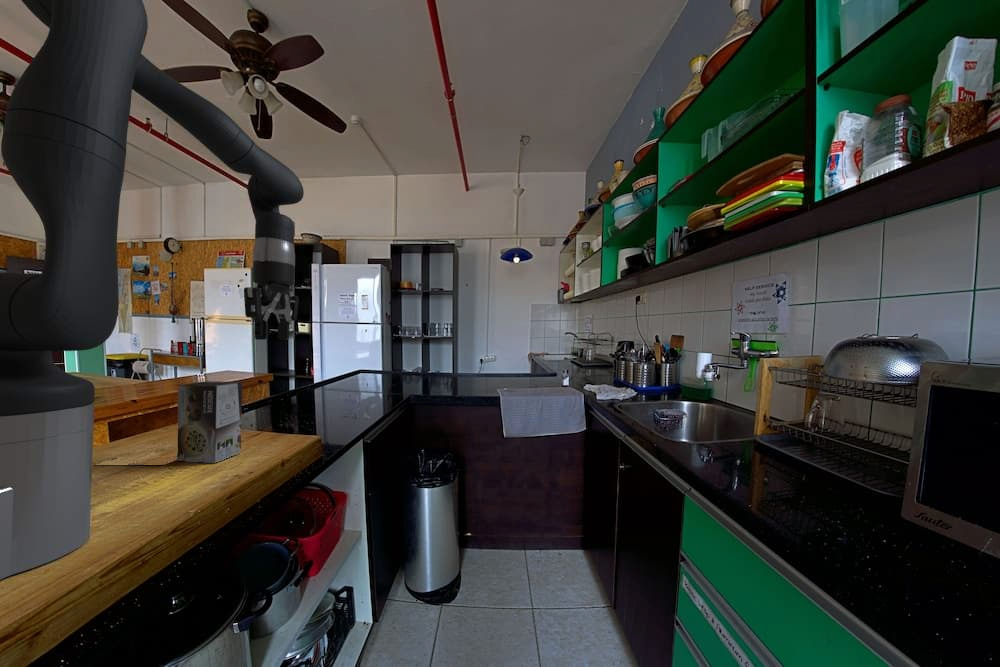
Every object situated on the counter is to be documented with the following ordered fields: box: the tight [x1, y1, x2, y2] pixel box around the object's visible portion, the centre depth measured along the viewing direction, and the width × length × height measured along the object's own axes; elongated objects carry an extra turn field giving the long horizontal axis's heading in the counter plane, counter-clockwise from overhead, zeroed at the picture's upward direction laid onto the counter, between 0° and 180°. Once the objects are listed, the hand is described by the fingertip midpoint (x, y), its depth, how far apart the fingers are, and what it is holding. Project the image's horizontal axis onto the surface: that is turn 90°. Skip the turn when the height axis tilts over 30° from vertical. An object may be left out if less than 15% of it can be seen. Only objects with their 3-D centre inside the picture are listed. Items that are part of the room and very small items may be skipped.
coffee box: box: [176, 380, 243, 464], centre depth 71 cm, size 9×6×16 cm
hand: (272, 339), depth 71 cm, fingers open, 6 cm apart
